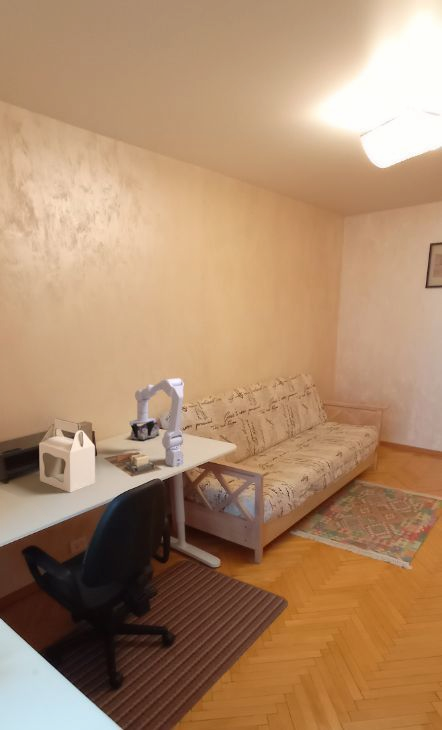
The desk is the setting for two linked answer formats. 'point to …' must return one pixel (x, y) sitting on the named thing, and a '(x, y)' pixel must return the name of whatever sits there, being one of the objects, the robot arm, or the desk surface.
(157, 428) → the geode
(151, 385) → the robot arm
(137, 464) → the block
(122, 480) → the desk surface
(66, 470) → the gable box
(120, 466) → the lane board
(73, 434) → the decorative block
